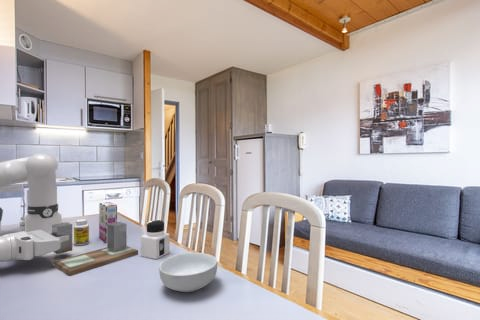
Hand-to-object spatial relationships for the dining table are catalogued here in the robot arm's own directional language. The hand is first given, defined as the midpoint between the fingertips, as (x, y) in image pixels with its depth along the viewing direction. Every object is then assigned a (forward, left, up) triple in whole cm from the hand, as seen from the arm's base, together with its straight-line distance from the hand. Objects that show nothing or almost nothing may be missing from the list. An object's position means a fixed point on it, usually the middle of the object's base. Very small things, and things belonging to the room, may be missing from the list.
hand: (64, 235), depth 102 cm
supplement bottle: (-10, +10, -8) cm, 16 cm away
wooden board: (+14, +6, -8) cm, 17 cm away
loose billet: (0, -1, -6) cm, 6 cm away
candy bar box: (-7, +20, -8) cm, 23 cm away
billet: (+14, +13, -6) cm, 20 cm away
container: (+26, +22, -8) cm, 35 cm away
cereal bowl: (+55, +13, -8) cm, 57 cm away
